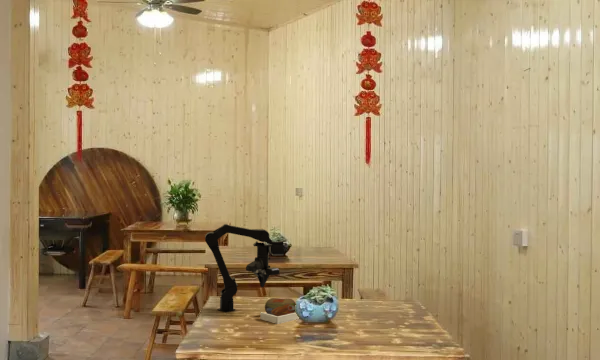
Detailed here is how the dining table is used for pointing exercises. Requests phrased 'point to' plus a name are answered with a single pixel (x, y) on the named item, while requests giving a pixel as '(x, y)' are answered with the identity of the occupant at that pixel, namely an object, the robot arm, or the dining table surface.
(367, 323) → the dining table surface
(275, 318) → the shelf slot
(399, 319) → the dining table surface
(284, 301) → the tin
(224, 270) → the robot arm
